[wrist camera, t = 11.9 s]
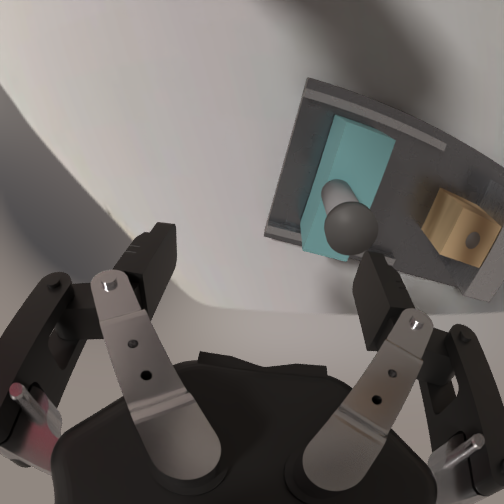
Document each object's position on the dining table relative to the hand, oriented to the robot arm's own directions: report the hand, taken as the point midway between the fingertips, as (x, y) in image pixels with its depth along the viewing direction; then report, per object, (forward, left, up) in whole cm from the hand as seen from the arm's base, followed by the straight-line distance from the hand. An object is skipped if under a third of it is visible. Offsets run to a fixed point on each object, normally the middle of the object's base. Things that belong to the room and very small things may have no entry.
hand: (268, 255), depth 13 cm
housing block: (+20, 0, -16) cm, 25 cm away
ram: (+6, 0, -16) cm, 17 cm away
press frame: (+15, 0, -18) cm, 23 cm away
